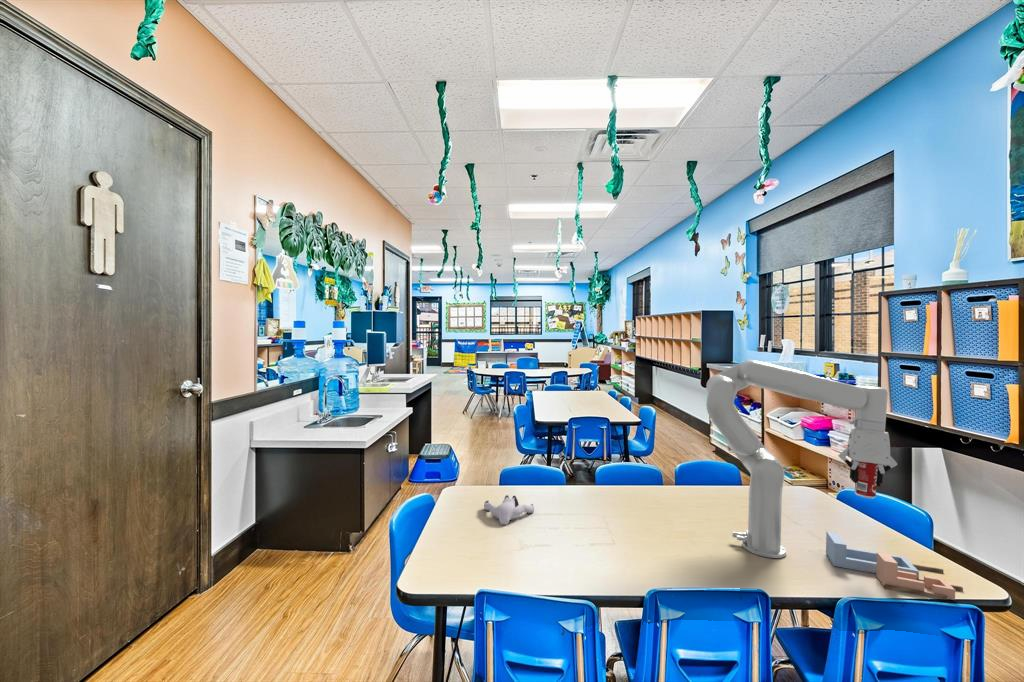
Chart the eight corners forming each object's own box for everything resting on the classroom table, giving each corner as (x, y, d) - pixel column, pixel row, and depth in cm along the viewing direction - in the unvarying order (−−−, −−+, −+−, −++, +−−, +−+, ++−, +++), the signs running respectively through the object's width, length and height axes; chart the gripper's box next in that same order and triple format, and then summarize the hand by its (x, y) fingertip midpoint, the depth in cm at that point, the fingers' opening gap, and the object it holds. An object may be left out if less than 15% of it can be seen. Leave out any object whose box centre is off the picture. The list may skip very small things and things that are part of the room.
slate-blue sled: (834, 565, 138) (834, 543, 138) (825, 552, 146) (826, 531, 146) (918, 580, 130) (919, 556, 130) (904, 566, 139) (905, 543, 139)
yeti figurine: (490, 508, 184) (473, 526, 165) (489, 491, 184) (472, 508, 165) (537, 509, 179) (525, 529, 160) (536, 493, 179) (523, 510, 160)
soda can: (864, 492, 143) (867, 455, 143) (880, 498, 138) (882, 460, 138) (850, 492, 143) (852, 455, 143) (865, 498, 138) (867, 459, 137)
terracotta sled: (883, 585, 127) (884, 561, 127) (876, 575, 132) (876, 552, 132) (924, 593, 123) (925, 567, 123) (914, 582, 129) (915, 558, 129)
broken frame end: (933, 596, 123) (933, 585, 123) (923, 585, 128) (923, 575, 128) (955, 600, 121) (955, 589, 121) (944, 589, 126) (944, 579, 126)
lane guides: (885, 588, 126) (885, 584, 126) (862, 558, 144) (862, 555, 144) (978, 606, 118) (979, 602, 118) (942, 572, 136) (942, 569, 136)
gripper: (840, 424, 140) (835, 481, 141) (909, 431, 134) (904, 492, 134) (833, 420, 147) (829, 475, 147) (899, 427, 140) (894, 485, 141)
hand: (865, 482), depth 141 cm, fingers closed on soda can, 5 cm apart
